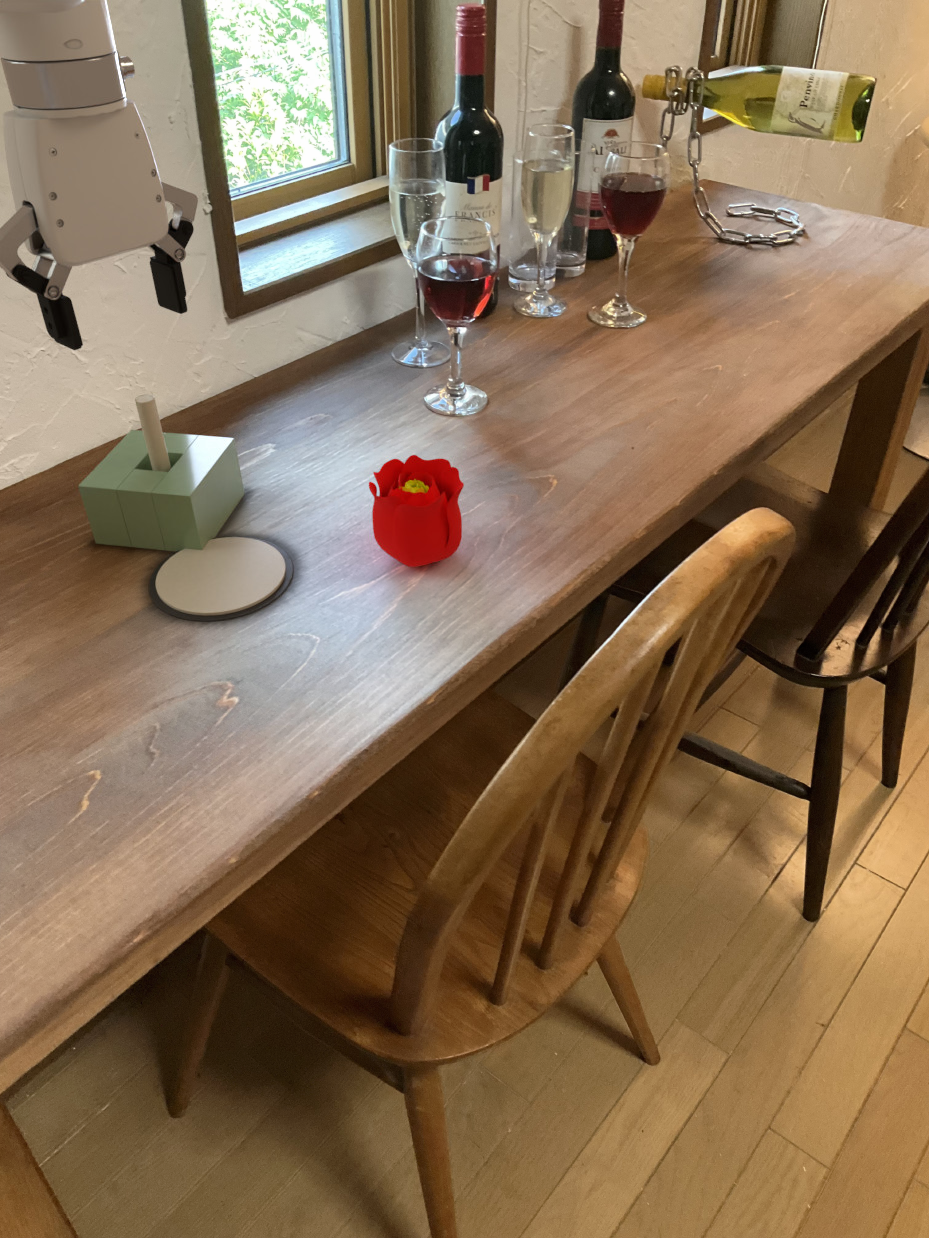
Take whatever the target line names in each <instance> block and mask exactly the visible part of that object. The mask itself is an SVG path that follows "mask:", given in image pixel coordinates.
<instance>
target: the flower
mask: <svg viewBox="0 0 929 1238" xmlns="http://www.w3.org/2000/svg"><path fill="white" fill-rule="evenodd" d="M372 472H373V476H374V478H375V481H376V484H377V485H376V484H375V483H374V482H372V481H369V482H368V488H369V492H370V493H371V495H372V496H373V504H372V515H371V516H372V517H371V519H372V530H373V537H374V539H375V541H376V544H377V545H378V546H379V547H380V549H382V551H384V552H385V553H386V554H387V555H388V556H390V557H391V558H393V559H395V560H396V561H398V562H399V563H401V564H402V565H403V566H407V567H411V568H415V567H422V566H426V565H429V564H433V563H438V562H440V561H443V560H446V559H448V558H450V557H451V556H452V555H454V554H455V552H457V550H458V549H459V547H460V545H461V542H462V536H463V534H462V533H463V521H462V512H461V509H460V506H459V497H460V495H461V494H462V491H463V489H464V487H465V484H464V482H463V481H462V480H461V479H460V471H459V469H458V468H457V467H455V466H452V464H451V462H450V461H449V460H448V459H446V458H434V459H423V458H421V457H419V456H418V455H417V454H411V455H409V456H408V457H407V458H406V460H405V461H404V462H403V461H402V460H401V459H399V458H392V459H390V460H388V461H386V462H384V464H382V466H381V467H380V470H379V471H378V472H377V471H376V472H375V471H372ZM377 487H378V488H377ZM378 491H379V495H377V494H378Z"/></svg>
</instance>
